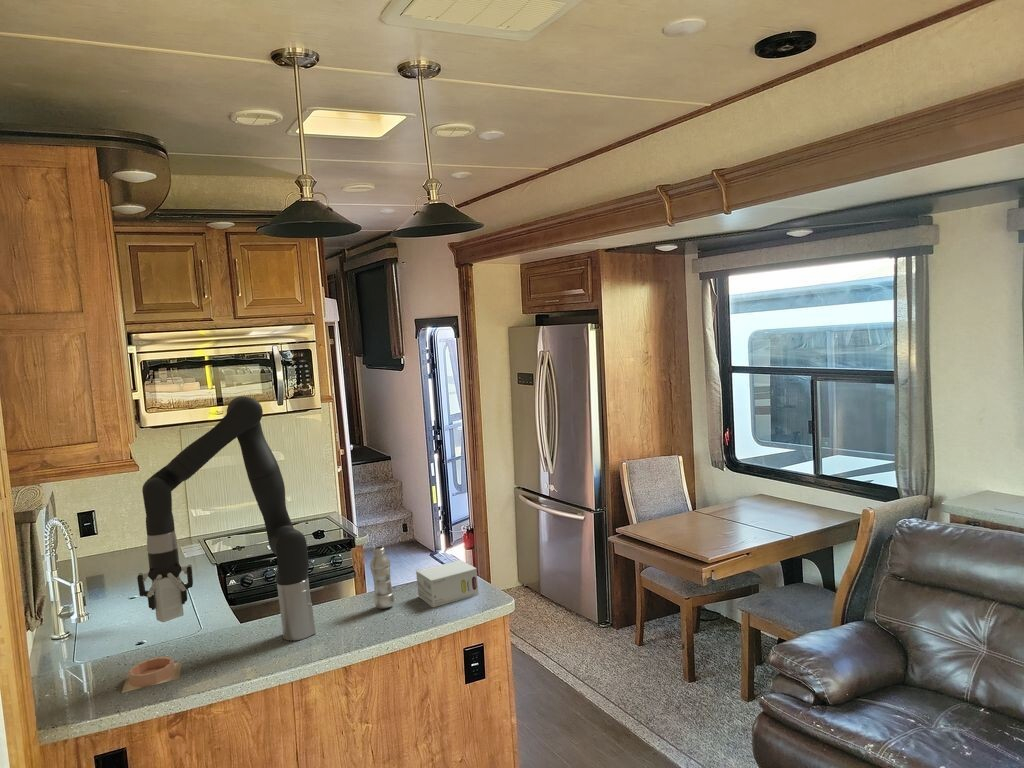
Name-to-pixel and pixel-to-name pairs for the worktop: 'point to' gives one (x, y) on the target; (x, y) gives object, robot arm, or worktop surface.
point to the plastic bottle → (381, 579)
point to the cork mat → (173, 677)
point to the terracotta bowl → (151, 671)
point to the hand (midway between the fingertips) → (168, 606)
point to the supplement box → (447, 583)
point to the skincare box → (167, 599)
